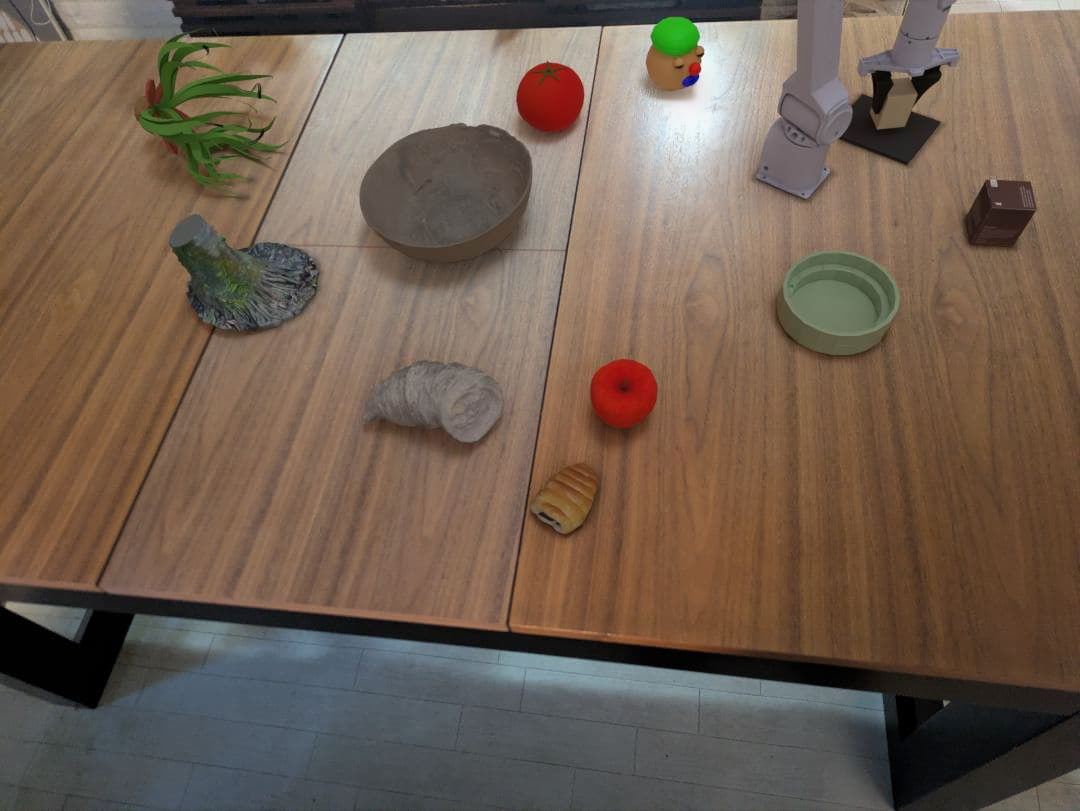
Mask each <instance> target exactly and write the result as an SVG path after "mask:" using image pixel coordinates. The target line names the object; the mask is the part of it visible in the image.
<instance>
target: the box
mask: <svg viewBox="0 0 1080 811" xmlns="http://www.w3.org/2000/svg"><path fill="white" fill-rule="evenodd" d="M1037 208H1038V207H1037V203H1036V199H1035V195H1034V190H1033V186H1032V182H1031V180H1029V181H1028V180H1009V179H1008V180H1007V179H985V180H984V182H983V185H982V186H981V188H980V190H979V191H978V194H977V195H976V197H975V199H974V200H973V203H972V204H971V206H970V208H969V210H968V212H967V214H966V216H965V219H966V225H967V231H968V232H967V233H968V237H969V243H970V244H971V245H982V246H984V245H985V246H999V247H1000V246H1001V247H1014V246H1015V244H1016V242H1017V241H1018V240H1019V238H1020V236H1021V235H1022V233H1023V232H1024V230H1025V229H1026V228H1027V226H1028V224H1029V222H1030V221H1031V220H1032V219H1033V217H1034V215H1035V214H1036V213H1037V211H1038V209H1037Z"/></svg>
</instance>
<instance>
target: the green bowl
mask: <svg viewBox="0 0 1080 811" xmlns="http://www.w3.org/2000/svg"><path fill="white" fill-rule="evenodd" d="M900 303H901V294H900V289H899V286H898V282H896V280H895V278H894V277H893V276H892V274H891V273H890V272H889V270H888V269H886V268H885V267H884V266H882V265H881V264H880V263H879V262H877V261H876V260H874V259H872V258H869V257H867V256H865V255H863V254H861V253H857V252H853V251H848V250H844V249H827V250H826V249H824V250H820V251H816V252H813V253H808V254H806V255H805V256H803V257H801V258H800V259H798V260H796V261H795V262H793V264H792V265H791V266H790V268H789V269H788V270H787V271H786V273H785V275H784V279H783V283H782V285H781V289H780V293H779V296H778V300H777V303H776V310H777V319H778V321H779V322H780V325H781V326H782V328H783V330H784V332H785V333H786V334H787V335H789V336H790V337H791V339H793V340H794V341H795V342H796V343H797V344H799V345H801V346H803V347H805V348H807V349H808V350H811V351H813V352H816V353H821V354H825V355H829V356H851V355H855V354H859V353H863V352H866V351H868V350H870V349H871V348H872V347H874V346H876V345H877V344H879V343H880V342H881V341H882V339H883V338H884V336H885V335H886V333H887V332H888V331H889V328H890V327H891V325H892V323H893V321H894V319H895V317H896V315H897V313H898V311H899V307H900Z"/></svg>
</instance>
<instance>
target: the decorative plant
mask: <svg viewBox="0 0 1080 811" xmlns="http://www.w3.org/2000/svg"><path fill="white" fill-rule="evenodd" d="M206 29H209V28H203V30H206ZM201 30H202V28H198V29H194V30H191V31H187V32H183V33H180V34H177V35H174V36H173V37H172V38H170V39H169V40H167V41H166V42H165V43H164V45H163V46H162V47H161V48H160V50H159V52H158V56H157V71H158V77H159V82H158V85H157V86H156V82H155V79H148V80H147V82H146V86H145V94H144V95H141V96H139V97H137V99H136V102H135V105H134V108H133V112H134V113H133V114H134V117H135V120H136V121H137V122H139V125H140V127H141V128H142V129H143V130H145V131H146V132H147V133H149V134H151V135H153V136H155V137H158V138H160V139H162V140H163V142H164V144H165V146H166V148H167V150H168V152H170V153H171V154H173V155H178V152H179V147H180V148H182V149H183V150H184V153H185V157H186V158H188V160H186V169H187V171H188V172H189V173H190V175H191V176H192V177H193V178H194V179H195V180H196V181H197V182H198V183H200V184H201V185H202V186H204V187H207V188H209V189H212V190H213V189H214V190H216V191H223V192H227V193H230V194H232V195H235V196H237V197H239V195H238V194H237V193H235V192H233V191H230V190H227V189H223V188H218V187H214V186H212V185H209V184H207V183H210V184H221V185H227V186H231V187H234V188H236V187H237V185H234V184H231V183H229V182H226V181H223V180H220V179H228V180H231V181H232V179H240V180H249V181H252V178H247V177H244V176H241V175H238V174H234V173H226V172H218V171H217V170H215V169H214V166H213V164H214V165H216V166H219V165H220V163H221V161H237V160H238V161H240V158H241V157H242V155H223V156H219V157H218V158H213V155H212V153H211V152H212V151H215V150H217V149H220V150H221V151H223V149H224V148H223V147H226V145H228V146H229V148H231V149H233V150H235V151H237V152H239V153H240V154H243V155H244V156H246V157H250V158H253V159H256V160H261V158H260V157H256V156H254V155H252V154H250V153H248V152H246V151H245V150H248V149H249V148H252V149H256V150H260V151H275V150H279V149H281V148H282V147H285V145H286V144H289V142H290V140H289V139H288V138H287V141H285V142H284V143H282V144H279V145H269V144H266V143H265V144H264V143H261V142H259V141H260V140H261V139H262V138H263V137H264V134H265V133H266V132H268V131H269V130H271V129H272V127H273V125H274V123H275V121H276V118H277V117H276V115H274V116H273V119H272V120H271V121H270V122H269V124H267V126H265V127H262V128H251V127H252V126H253V123H252V121H251V118H250V117H249V116H248V124H249V127H246V126H241V125H236V124H221V123H216V122H208V121H210V120H213V119H216V118H218V117H221V116H223V117H224V116H235V115H245V112H238V111H237V112H235V111H227V110H226V111H224V110H223V111H222V110H221V111H212V112H207V113H203V114H199V115H195V116H192V117H190V116H189V115H188V114H187V113H185V112H183V111H182V110H180V109H178V108H176V107H179V106H180V105H181V104H184V103H185V102H188V101H191V100H196V99H204V98H205V99H207V98H208V99H209V98H213V99H214V98H216V99H229V100H232V98H231V97H242V98H243V97H244V98H254V99H258V100H261V99H263V100H268V101H271V102H275V103H276V104H277V103H278V101H276V100H275V99H274V98H272V97H270V96H268V95H266V94H264V93H262V85H261V83H260V82H256V84H255V85H253V87H252V88H251V90H247V89H242V88H240V87H239V86H237V85H235V84H226V83H234V82H243V81H253V80H258V79H263V78H271V80H273V79H274V76H273V75H269V74H252V73H251V71H250V70H245V71H240V72H234V73H225V72H224V71H223V70H221V69H220V68H218V67H216V66H213V65H211V64H210V63H209V64H208V63H206V62H203V61H199V59H202V58H204V56H203V57H200V58H197V59H193V60H187V61H183V60H184V59H185V58H186V57H187V56H189V55H190V54H193V53H196V52H199V51H203V50H205V51H206V54H205V57H207V56H209V55H210V49H216V48H231V49H234V48H233V47H232V46H230V45H227V44H223V43H218V42H208V41H207V42H205V41H204V42H203V41H198V42H197V41H196V42H185V41H179V40H180V39H181V38H183V37H186V36H187V35H190V34H192V33H195V32H198V31H201ZM212 30H213V31H214V33H215V34H216V35H217V37H219V35H218V34H217V31H216V30H215V28H212ZM174 50H175V52H173V54H172V57H171V60H169V58H170V53H171V51H174ZM185 67H186V68H190V69H193V70H195V71H197V69H196V68H194V67H197V68H203V69H208V70H212V71H215V72H218V73H219V74H218V75H213V76H208V77H206V76H207V74H206V75H203V74H201V77H203V78H200V79H197V80H194V81H191V82H189V83H186V84H185V85H183V86H182V87H180V88H179V89H178V90H177V91H176V82H177V76H178V72H179V70H180V69H181V68H185ZM246 72H249V74H245V73H246ZM243 73H244V74H243ZM204 77H205V78H204ZM256 89H257V92H255V90H256ZM175 91H176V92H175ZM236 101H237V102H240V103H243V104H245V105H246V106H248V107H250V108H251V109H253V111H254V112H255V114H258V109H256V108H255V107H254V106H252V105H251V104H250V103H246V102H244V101H241V100H237V99H236ZM218 104H219V105H221V101H218V103H217V105H218ZM214 105H216V103H209V104H204V105H202V106H200V108H202V107H205V106H214ZM194 111H195V109H194V110H192V112H194ZM207 126H213V127H212V128H210V129H209V130H207V131H205V132H196V131H195V130H194V128H196V127H207ZM228 132H235V133H244V132H249V133H254V134H259V136H257V138H255V139H254V140H253V139H251V138H249V137H246V136H243V135H239V134H230V133H228ZM178 146H179V147H178ZM238 157H240V158H238ZM269 159H273V157H272V156H271V155H270V156H269V157H267V158H265V160H269ZM199 163H202V164H204V166H205V169H206V171H207V173H208V175H209V176H210V177H208V176H205V175H202V174H200V167H199Z"/></svg>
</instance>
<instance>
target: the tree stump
mask: <svg viewBox="0 0 1080 811" xmlns="http://www.w3.org/2000/svg"><path fill="white" fill-rule="evenodd" d="M226 241H227V237H226V235H224V234H221V235H219V234H218V231H217V229H215V225H213V224H211V225H210V224H208V222H207V221H206V220H205V219H204V218H203V217H202V215H201V214H198V213H194V214H191V215H188V216H187V217H185V218H184V219H182V220H181V221H180V222H178V223H177V225H176V226H175V227H174V229H173V230H172V232H171V234H170V236H169V239H168V245H169V247H170V248H171V252H172V253H173V254H174V255H175V256H176V257H177V262H179V263H180V265H181V266H182V267H183V268H185V270H186V271H187V273H188V274H189V276H190V277H189V279H188V280H187V282H186V287H187V288H188V290H187V291H186V292H185V295H186V296H187V299H188V305H189V306H190V308H192V309H193V310H194V311H195V313H196V315H198V318H201V319H202V321H203V323H206V324H211V325H212V326H214V327H216V328H219V329H221V330H227V331H233V332H241V331H243V332H257V331H263V330H268V329H273V328H278V326H280V325H282V324H284V323H285V322H287V321H289V320H291V319H294V318H295V317H297V316H300V314H301V312H303V310H304V309H305V308H306V307H307V306H308V304H309V303H310V302H311V301H312V299H313V298H314V297H315V296H316V295H317V290H318V283H319V275H320V273H319V270H318V268H317V264H316V262H315V260H314V259H313V258H312V257H311V256H310V255H309V254H307V253H306V252H305V251H304V250H302V249H300V248H297V247H293V246H289V245H287V244H282V243H279V242H270V241H266V242H259V243H256V244H254V245H251V246H248V247H242V248H239V249H233V248H232V247H231V246H230V245H228V243H227V242H226Z"/></svg>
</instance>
